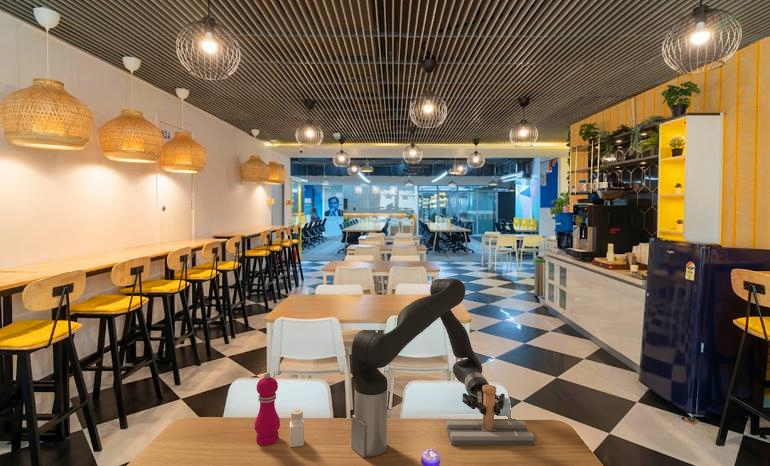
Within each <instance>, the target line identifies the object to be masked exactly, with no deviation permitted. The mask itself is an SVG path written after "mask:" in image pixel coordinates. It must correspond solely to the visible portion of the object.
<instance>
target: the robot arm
mask: <svg viewBox="0 0 770 466" xmlns="http://www.w3.org/2000/svg"><path fill="white" fill-rule="evenodd" d="M465 286H466V285H465V284H464V283H463V281H461V280H460V279H457V278H435V279H434V280H433V281H432V282H431V284H430V289H429V292H430V293H429V294H430V295H428V296H423V297H421V298H418V299H415V300H414V301H412V302H410V303H408V305H406V306H404V308H402V309H401V310H400V312H399V313H398V315H397V318H396V326H395V327H394V328H393V329H392V330H389V332H386V333H381V332H376V331H372V330H370V329H369V330H368V329H362V330H359V331H358V332H356V334H355V336H354V337H353V339H352V343H351V351H350V352H351V355H350V356H351V357H350V359H351V374H352V376H351V377H352V380H353V383H354V414H352V415H351V427H350V428H351V432H350V433H351V434H350V435H351V437H350V438H351V439H350V440H351V443H350V444H351V445H350V446H351V449H352V450H353V451H354V452H356V453H357V454H358V455H360V457H362V458H365V457H377V456H380V455H382V454H384V453H385V452H386V450H387V447H388V446H387V445H388V440H387V439H388V383H389V382H388V379H387V376H385V374H384V373H382V371H380V369H382V368H386V367H387V366H388V365H389V364H390V363H391V362H393V361H394V359H396V357H397V356H398V355H399V354H401V352H402V351H403V350H404V349H405V347H406V346H408V345H409V344H410V343H411V342H412V341H414V339H415V338H417V336H418V335H420V334H421V333H423V332H424V331H425V330H426V329H428V328H429V327H430V326H431V325H432V324H433V323H434V322H436V321H437V320H438V319H439V318H440V321H441V322H442V325H443V326H444V329H445V330H446V334H447V336H448V339H449V343H450V347H451V351H452V353H453V356H454V357H455V358H457V359H462V360H458V361H455V362H454V364H453V367H452V372H453V374H454V378H456V380H457V381H459V382H460V383H461V384H463V385H464V388H465V391H466V392H467V393H464V392H463V393H462V403H463V404H465V405H466V406H468V407H469V408H470V409H471V410H476V409H477V410H478V411H479V413H480V414H481V415H482V416H483V415H486V407H485V406H484V404H483V400H484V392H483V391H482V387H483V385H490V383H489V382H488V380H487V378H486V377H485V376H484V375H483V374H482V373H483V365H482V363H481V362H480V360H479V359H478V357H477V356H476V353H475V352H474V349H473V346H472V343H471V340H470V336H469V334H468V331H467V329H466V328H465V326H464V325H463V324H462V323H461V321H460V320H459V319H458V318H457V317H456V315H455V314H454V313H453V310H452V309H454V308H455V307H457V306H459V305H460V304H461V303H462V301H463V300H464V299H465V296H466V287H465ZM505 396H506V395H505V393H500V394H497V393H495V403H494V415H495V416H500V415H501V410H503V408H504V407H505V405H504V404H505V402H506V401H505Z"/></svg>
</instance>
